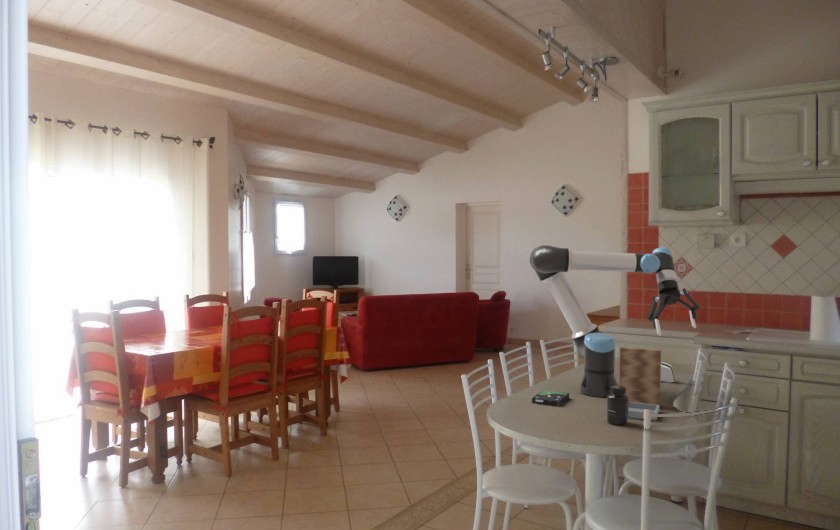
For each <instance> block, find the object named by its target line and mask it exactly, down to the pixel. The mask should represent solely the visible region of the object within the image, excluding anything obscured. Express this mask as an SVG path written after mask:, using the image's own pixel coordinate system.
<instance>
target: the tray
mask: <svg viewBox="0 0 840 530" xmlns="http://www.w3.org/2000/svg"><path fill="white" fill-rule="evenodd" d="M644 409H650V410H651V411H652V412H654V413H659V414H660V409H659V405H655V404H646V403H637V402H629V410H628V419H633V420H641V421H644V420H643V413H644V412H643V410H644ZM657 420H658V417H657V418H652V421H651V422H657Z"/></svg>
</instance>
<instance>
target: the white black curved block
mask: <svg viewBox="0 0 840 530" xmlns="http://www.w3.org/2000/svg"><path fill="white" fill-rule="evenodd" d="M675 376H676V375H675V372H674V368H673V365H671V364H669V363H667V362H662V361H661V381H668V382H674V383H675V382H676V381H675V380H676V377H675ZM668 382H667V383H668Z"/></svg>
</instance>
